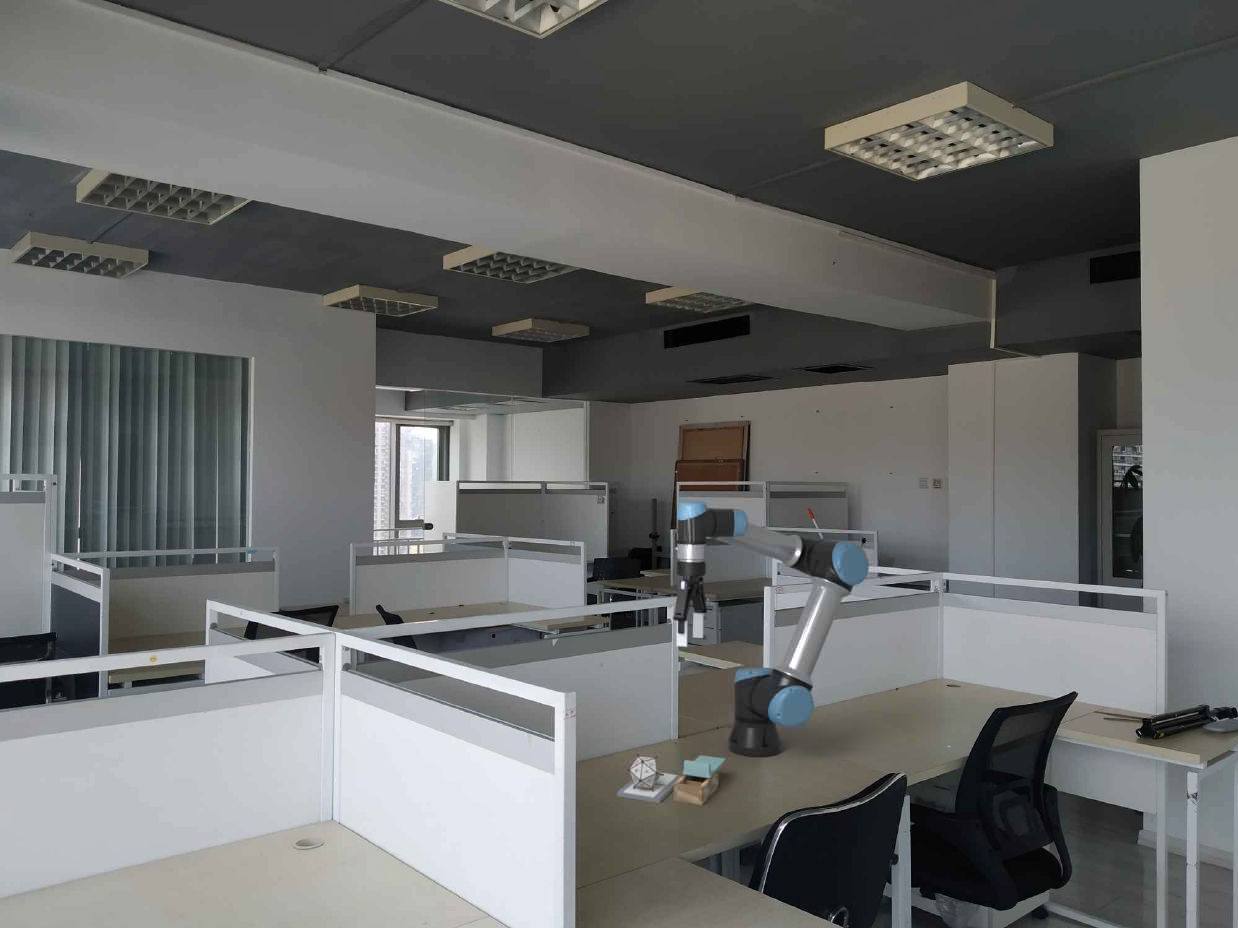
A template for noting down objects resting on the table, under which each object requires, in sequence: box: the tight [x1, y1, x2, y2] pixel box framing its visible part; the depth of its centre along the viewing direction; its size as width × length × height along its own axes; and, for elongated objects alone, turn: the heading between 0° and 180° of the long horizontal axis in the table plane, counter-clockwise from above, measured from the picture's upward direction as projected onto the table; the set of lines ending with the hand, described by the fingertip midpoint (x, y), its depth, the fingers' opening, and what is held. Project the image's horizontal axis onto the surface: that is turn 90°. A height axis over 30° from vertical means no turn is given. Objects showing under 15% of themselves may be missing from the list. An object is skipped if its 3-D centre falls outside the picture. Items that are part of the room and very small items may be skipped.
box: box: [673, 770, 719, 806], centre depth 220 cm, size 14×7×4 cm, turn 157°
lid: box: [682, 754, 727, 778], centre depth 227 cm, size 14×7×3 cm, turn 157°
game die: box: [625, 753, 664, 792], centre depth 220 cm, size 9×8×10 cm
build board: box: [616, 772, 683, 804], centre depth 224 cm, size 18×11×1 cm, turn 157°
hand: (690, 641), depth 234 cm, fingers open, 13 cm apart
